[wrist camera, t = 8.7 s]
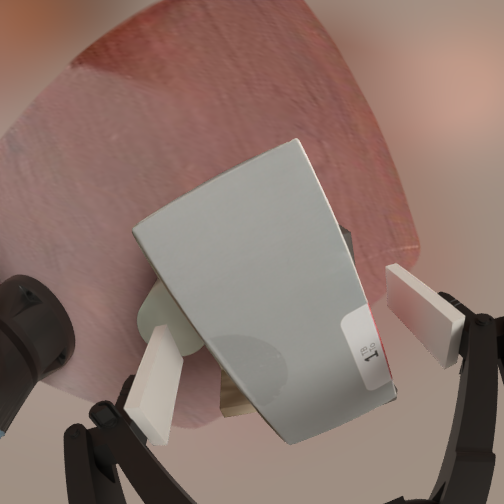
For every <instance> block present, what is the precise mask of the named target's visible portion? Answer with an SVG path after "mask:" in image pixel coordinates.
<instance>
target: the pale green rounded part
mask: <svg viewBox="0 0 504 504" xmlns="http://www.w3.org/2000/svg"><path fill="white" fill-rule="evenodd" d="M166 324H167V326H168V328H169V330H170V333H171V335H172V337H173V339H174V341H175V344H176V346H177V348H178V350H179V352H180V354H181V356H187V355H190V354H193V353H195V352H196V351H198V350H199V349H200V348H201V347H202V346H203V345H204V343H203V341H202V340H201V339H200V337H199V336H198V335H197V333H196V332H195V331H194V329H193V328H192V327H191V325H190V324H189V322H188V321H187V320H186V318H185V317H184V315H183V314H182V312H181V311H180V309H179V308H178V306H177V305H176V303H175V302H174V300H173V299H172V297H171V296H170V294H169V293H168V291H167V290H166V288H165V287H164V285H163V284H162V282H161V281H160V279H159V278H158V279H157V280H156V282H155V284H154V285H153V287H152V289H151V290H150V292H149V294H148V296H147V297H146V299H145V301H144V302H143V304H142V306H141V308H140V309H139V312H138V315H137V326H138V330H139V333H140V335H141V337H142V338H143V339H144V341H145V342H146V343H147V344H148V343H149V341H150V338H151V336H152V333H153V331H154V328H155V327H156V326H161V325H166Z"/></svg>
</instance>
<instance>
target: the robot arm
mask: <svg viewBox="0 0 504 504" xmlns="http://www.w3.org/2000/svg"><path fill="white" fill-rule="evenodd" d="M385 268H386V284H387V306H388V307H389V308H390V309H391V310H392V312H393V313H394V314H395V315H396V316H397V317H398V318H399V319H400V320H401V321H402V322H403V323H404V324H405V325H406V326H407V328H408V329H409V330H410V331H411V332H412V333H413V334H414V335H415V336H416V337H417V339H418V340H419V341H420V342H421V343H422V344H423V345H424V346H425V347H426V349H427V350H428V351H429V352H430V353H431V354H432V355H433V357H434V358H435V359H436V360H437V361H438V362H439V363H440V365H441V366H442V367H443V368H444V369H446V368H448V367H450V366H452V365H454V364H456V363H457V359H458V354H460V355H461V356H462V357H463V361H462V365H461V369H460V373H459V374H461V376H460V384H459V391H458V398H457V403H456V409H455V414H454V419H453V424H452V429H451V433H450V437H449V441H448V445H447V449H446V453H445V456H444V460H443V463H442V467H441V470H440V473H439V476H438V479H437V482H436V484H435V487H434V489H433V491H432V493H431V495H430V498H429V500H426V499H414V500H406V501H405V500H404V498H403V496H401V497H399V498H397V499H395V500H392V501H390V502H387V503H385V504H486V501H487V497H488V494H489V490H490V485H491V480H492V476H493V471H494V466H495V458H496V457H495V454H494V453H493V452H492V448H493V441H494V433H495V424H496V412H497V395H498V367H499V370H500V374H501V377H502V381H503V384H504V316H503V317H499V318H495V319H494V318H493V317H492V316H490V315H488V314H482V313H481V314H475V313H473V312H472V311H471V310H469V309H468V308H467V307H466V306H464V305H463V304H462V303H460V302H459V301H458V300H456V299H455V298H454V297H452V296H451V295H450V294H447V293H444V292H439V293H436V292H434V291H433V290H432V289H430V288H429V287H428V286H427V285H425V284H424V283H423V282H421V281H420V280H419V279H417V278H416V277H414V276H413V275H412V274H410V273H409V272H408V271H406V270H405V269H404V268H402V267H401V266H399V265H398V264H397V263H395V264H392V265H389V266H386V267H385ZM74 347H75V336H74V331H73V327H72V324H71V321H70V319H69V317H68V315H67V313H66V311H65V309H64V308H63V306H62V304H61V303H60V302H59V300H58V299H57V298H56V296H55V295H54V294H53V293H52V292H51V291H50V290H49V289H48V288H47V287H46V286H44V285H43V284H42V283H41V282H39V281H37V280H36V279H34V278H32V277H29V276H26V275H15V276H12V277H10V278H9V279H7V280H6V281H4V282H3V283H2V284H0V439H1V437H2V436H5V433H6V431H7V430H8V428H9V426H10V424H11V423H12V421H13V419H14V418H15V416H16V414H17V413H18V411H19V410H20V408H21V406H22V405H23V403H24V402H25V400H26V398H27V397H28V395H29V394H30V392H31V391H32V389H33V388H34V386H35V385H36V383H37V382H38V381H40V380H42V379H43V378H45V377H47V376H48V375H50V374H52V373H54V372H55V371H57V370H59V369H60V368H62V367H63V366H64V365H65V364H66V362H67V361H68V360H69V358H70V357H71V355H72V353H73V351H74ZM182 365H183V358H182V356H181V354H180V352H179V350H178V348H177V346H176V344H175V341H174V339H173V337H172V335H171V333H170V330H169V328H168V326H167V324H166V325H161V326H156V327H155V328H154V331H153V333H152V336H151V338H150V341H149V343H148V346H147V348H146V351H145V353H144V356H143V358H142V361H141V363H140V366H139V368H138V371H137V374H135V375H130V376H129V377H128V378H127V380H126V381H125V382H124V384H123V387H122V390H121V392H120V396H119V397H118V399H117V402H116V404H115V406H114V405H113V403H112V402H110V401H107V400H105V401H100V402H98V403H96V404H95V405H94V406H93V407H92V408H91V409H90V411H89V418H90V419H91V420H92V421H93V423H94V424H95V425H96V426H97V427H95V428H91V429H86V428H85V427H84V426H83V425H82V424H79V423H77V424H73V425H71V426H70V427H69V428H68V429H67V430H66V431H65V433H64V460H65V474H66V484H67V494H68V501H69V504H126V501H125V497H124V494H123V490H122V487H121V483H120V480H119V476H118V473H117V468H116V464H119V466H120V467H121V469H122V471H123V472H124V474H125V475H126V477H127V478H128V480H129V482H130V483H131V485H132V486H133V487H134V489H135V490H136V492H137V493H138V495H139V496H140V497H141V499H142V500H143V502H144V503H145V504H197V503H196V502H195V501H194V500H193V499H192V498H191V497H190V496H189V495H188V494H187V493H186V492H185V490H184V489H183V488H182V487H181V486H180V485H179V484H178V483H177V482H176V481H175V480H174V478H173V477H172V476H171V475H170V474H169V473H168V472H167V470H166V469H165V468H164V467H163V466H162V465H161V463H160V462H159V461H158V460H157V458H156V457H155V456H154V455H153V454H152V452H151V451H150V450H149V448H148V447H147V446H146V442H147V439H148V440H149V441H150V443H151V444H152V445H154V446H156V445H167V444H168V439H169V433H170V428H171V422H172V417H173V411H174V406H175V401H176V395H177V390H178V385H179V380H180V375H181V370H182Z"/></svg>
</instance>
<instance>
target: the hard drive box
mask: <svg viewBox="0 0 504 504" xmlns="http://www.w3.org/2000/svg"><path fill="white" fill-rule="evenodd" d="M132 234H133V236H134V237H135V239H136V241H137V243H138V245H139V247H140V249H141V250H142V252H143V254H144V255H145V257H146V259H147V260H148V262H149V263H150V265H151V267H152V268H153V270H154V271H155V273H156V275H157V276H158V278H159V279H160V281H161V282H162V284H163V285H164V287H165V288H166V290H167V291H168V293H169V294H170V296H171V297H172V299H173V300H174V302H175V303H176V305H177V306H178V308H179V309H180V311H181V312H182V314H183V315H184V317H185V318H186V320H187V321H188V322H189V324H190V325H191V327H192V328H193V329H194V331H195V332H196V333H197V335H198V336H199V337H200V339H201V340H202V341H203V343H204V344H205V346H206V347H207V348H208V350H209V351H210V352H211V354H212V355H213V356H214V358H215V359H216V360H217V362H218V363H219V364H220V366H221V367H222V368H223V370H224V371H225V372H226V373H227V375H228V376H229V377H230V379H231V380H232V381H233V383H234V384H235V385H236V386H237V388H238V389H239V390H240V391H241V393H242V394H243V395H244V396H245V397H246V399H247V400H248V401H249V402H250V404H251V405H252V406H253V407H254V408H255V410H256V411H257V412H258V413H259V414H260V416H261V417H262V418H263V419H264V420H265V422H266V423H267V424H268V425H269V426H270V427H271V428H272V429H273V430H274V431H275V432H276V434H277V435H278V436H279V437H280V438H281V439H282V440H283V441H284V442H286V443H287V444H289V445H292V444H295V443H298V442H301V441H303V440H306V439H308V438H311V437H314V436H316V435H319V434H321V433H324V432H326V431H329V430H331V429H333V428H336V427H338V426H340V425H342V424H344V423H347V422H349V421H351V420H353V419H355V418H357V417H359V416H361V415H363V414H365V413H367V412H369V411H371V410H373V409H375V408H376V407H379V406H381V405H383V404H385V403H386V402H388V401H390V400H391V399H393V398H395V397H396V396H397V394H396V391H395V387H394V383H393V380H392V375H391V371H390V368H389V364H388V361H387V357H386V354H385V350H384V347H383V344H382V341H381V338H380V335H379V332H378V329H377V327H376V323H375V321H374V318H373V315H372V312H371V309H370V306H369V304H368V301H367V299H366V296H365V293H364V291H363V288H362V285H361V282H360V280H359V277H358V274H357V271H356V268H355V266H354V263H353V260H352V257H351V255H350V252H349V249H348V247H347V245H346V242H345V240H344V237H343V235H342V233H341V230H340V228H339V225H338V223H337V221H336V218H335V216H334V214H333V211H332V209H331V207H330V205H329V202H328V200H327V198H326V196H325V193H324V191H323V189H322V187H321V185H320V183H319V180H318V178H317V176H316V174H315V172H314V170H313V168H312V166H311V163H310V161H309V159H308V157H307V155H306V153H305V151H304V149H303V147H302V145H301V143H300V141H299V139H297V138H295V139H294V140H292V141H290V142H287V143H284V144H282V145H279V146H277V147H275V148H273V149H270V150H268V151H266V152H264V153H262V154H260V155H257V156H255V157H253V158H251V159H248V160H246V161H244V162H242V163H240V164H238V165H236V166H234V167H232V168H230V169H228V170H226V171H225V172H223V173H221V174H219V175H217V176H215V177H213V178H211V179H210V180H208V181H206V182H204V183H202V184H201V185H199V186H197V187H196V188H194V189H192V190H191V191H189V192H187V193H185V194H184V195H182V196H180V197H178V198H177V199H175V200H173V201H172V202H170V203H169V204H167V205H165V206H164V207H162V208H161V209H159V210H157V211H156V212H154V213H153V214H151V215H150V216H148V217H146V218H145V219H143V220H142V221H140V222H139V223H138V224H136V225H135V226H134V227H133V228H132Z"/></svg>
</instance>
